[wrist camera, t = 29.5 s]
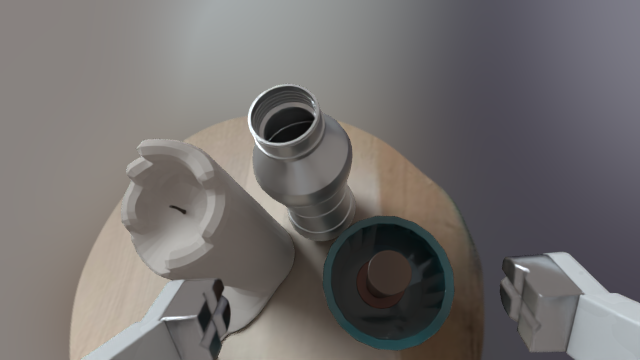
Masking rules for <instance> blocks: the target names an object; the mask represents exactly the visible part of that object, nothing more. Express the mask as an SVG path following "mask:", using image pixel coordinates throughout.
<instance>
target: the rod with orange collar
mask: <svg viewBox="0 0 640 360" xmlns="http://www.w3.org/2000/svg"><path fill="white" fill-rule="evenodd" d="M411 278H412V270H411V266H410V264H409V262H408V260H407V259H406V258H405V257H404V256H403V255H402V254H400V253H398V252H396V251H392V250H385V251H381V252H379V253H377V254H376V255H374V256H373V258H372V259H371V260H370V261H368V262H367V263H365V264H364V265H363V266H362V267H361V269H360V270H359V272H358V275H357V280H356V284H357V290H358V293H359V295H360V297H361V298H362V300H363V301H364V302H365V303H366V304H368V305H369V306H371V307H374V308H379V309H385V308H390V307H392V306H394V305H395V304H397V303H398V302H399V301H400V300H401V298H402V296H403V294H404V291H405V289H406V288H407V287H408V285H409V284H410V281H411Z"/></svg>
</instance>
